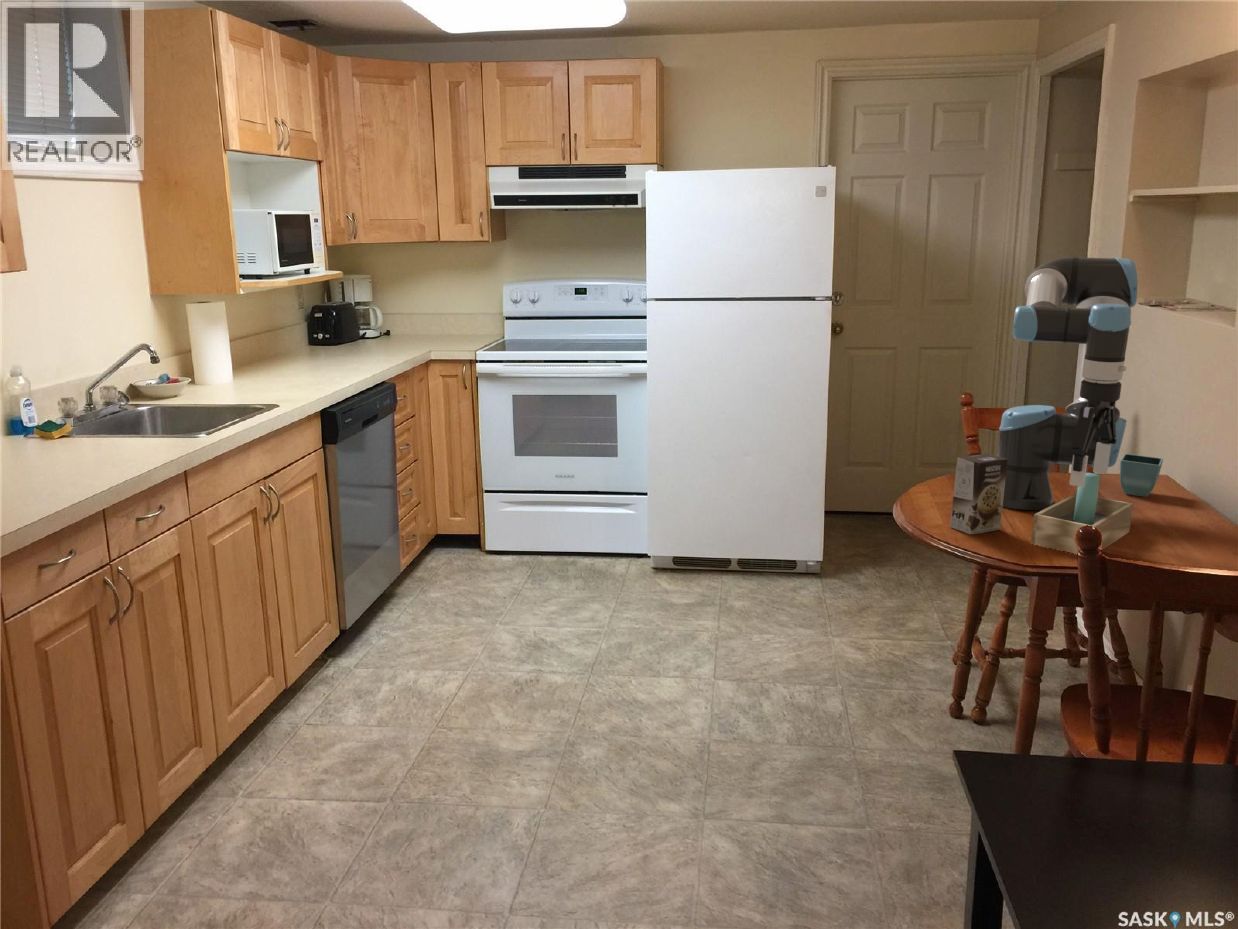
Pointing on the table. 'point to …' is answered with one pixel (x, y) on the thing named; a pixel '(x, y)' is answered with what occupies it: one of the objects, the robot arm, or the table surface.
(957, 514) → the coffee box
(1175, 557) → the table surface
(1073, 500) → the crate
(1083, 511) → the peg
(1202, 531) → the table surface
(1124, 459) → the flower pot
